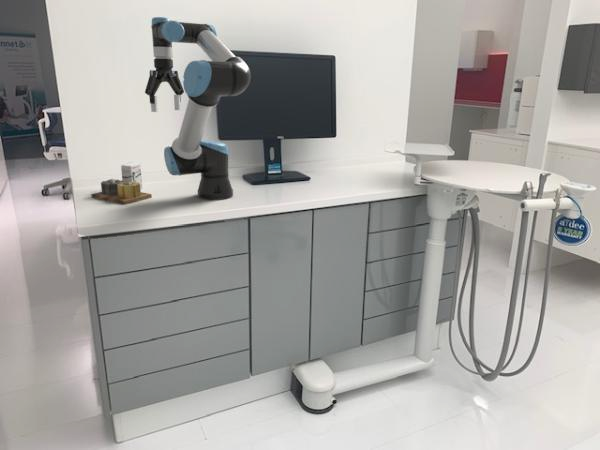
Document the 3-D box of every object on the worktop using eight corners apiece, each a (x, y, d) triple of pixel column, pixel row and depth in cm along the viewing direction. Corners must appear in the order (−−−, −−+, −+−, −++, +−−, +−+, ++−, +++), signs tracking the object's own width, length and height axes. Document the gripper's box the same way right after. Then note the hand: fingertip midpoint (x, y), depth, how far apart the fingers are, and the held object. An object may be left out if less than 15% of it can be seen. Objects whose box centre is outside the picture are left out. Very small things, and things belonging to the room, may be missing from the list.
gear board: (151, 197, 201) (150, 181, 199) (125, 204, 190) (123, 187, 188) (118, 191, 211) (117, 175, 209) (91, 197, 199) (89, 181, 197)
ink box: (132, 192, 209) (130, 165, 205) (122, 191, 210) (120, 165, 206) (143, 188, 217) (141, 162, 213) (133, 187, 218) (131, 161, 214)
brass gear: (145, 195, 199) (144, 183, 198) (128, 199, 192) (127, 187, 190) (130, 192, 203) (129, 180, 202) (113, 196, 196) (112, 184, 194)
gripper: (177, 59, 209) (180, 109, 216) (133, 56, 189) (137, 112, 195) (190, 59, 206) (192, 109, 212) (146, 57, 185) (150, 113, 192)
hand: (166, 111), depth 204 cm, fingers open, 13 cm apart
